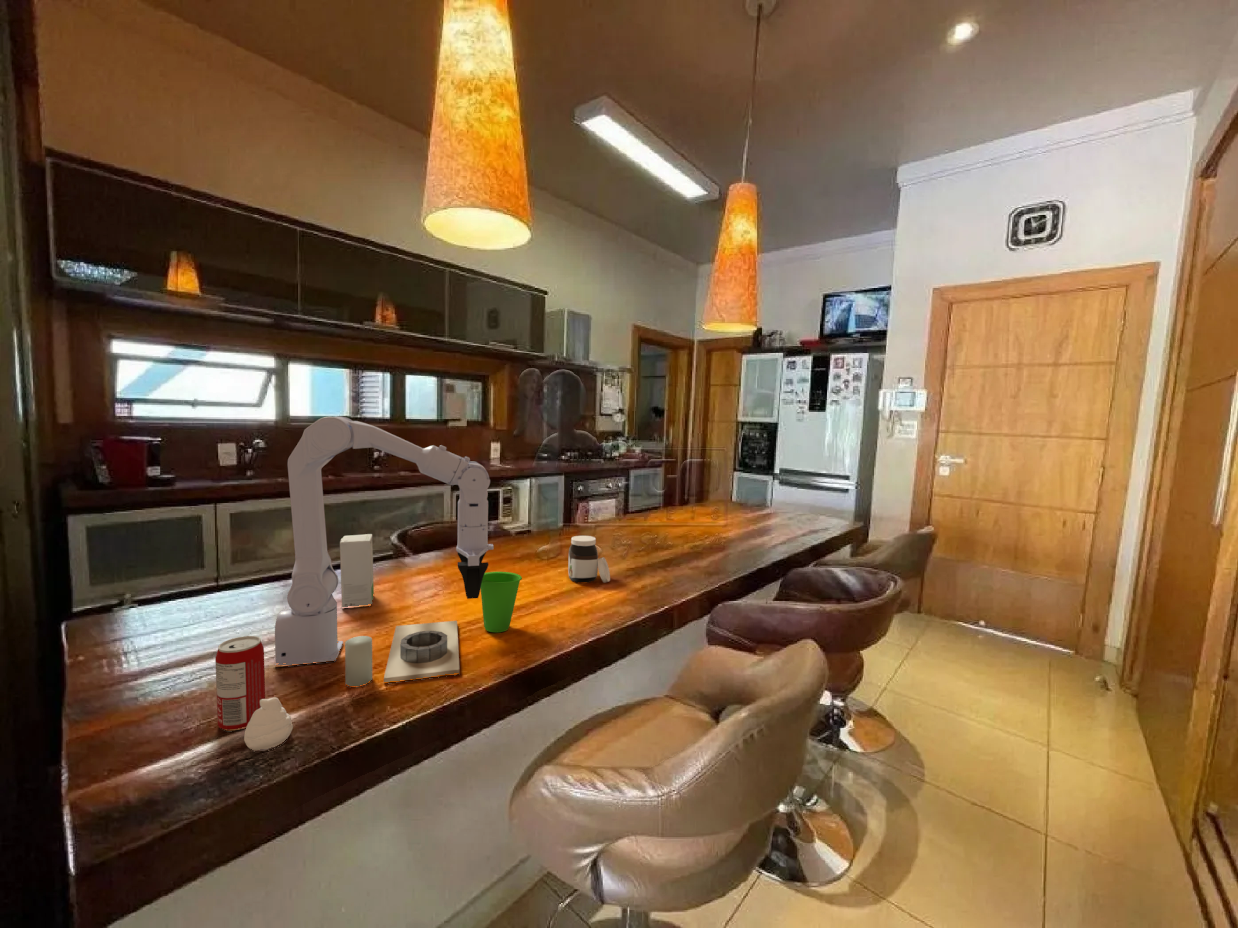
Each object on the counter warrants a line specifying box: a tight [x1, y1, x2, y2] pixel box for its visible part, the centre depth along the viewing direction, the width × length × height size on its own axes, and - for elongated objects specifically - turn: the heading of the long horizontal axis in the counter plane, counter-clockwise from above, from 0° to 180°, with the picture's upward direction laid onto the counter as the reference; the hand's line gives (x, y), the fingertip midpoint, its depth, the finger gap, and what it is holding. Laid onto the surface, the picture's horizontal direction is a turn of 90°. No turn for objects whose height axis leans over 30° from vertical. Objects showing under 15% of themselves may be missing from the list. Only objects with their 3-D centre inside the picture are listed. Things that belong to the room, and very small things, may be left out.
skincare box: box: [339, 533, 375, 608], centre depth 120 cm, size 8×7×16 cm
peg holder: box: [383, 620, 460, 683], centre depth 97 cm, size 12×22×4 cm, turn 19°
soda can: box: [215, 635, 266, 730], centre depth 73 cm, size 6×6×12 cm
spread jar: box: [567, 535, 611, 583], centre depth 143 cm, size 12×11×12 cm
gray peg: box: [344, 635, 373, 686], centre depth 85 cm, size 4×4×7 cm
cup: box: [480, 571, 523, 633], centre depth 108 cm, size 9×9×11 cm
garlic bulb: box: [243, 697, 294, 751], centre depth 69 cm, size 6×6×5 cm
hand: (472, 591), depth 102 cm, fingers open, 7 cm apart
